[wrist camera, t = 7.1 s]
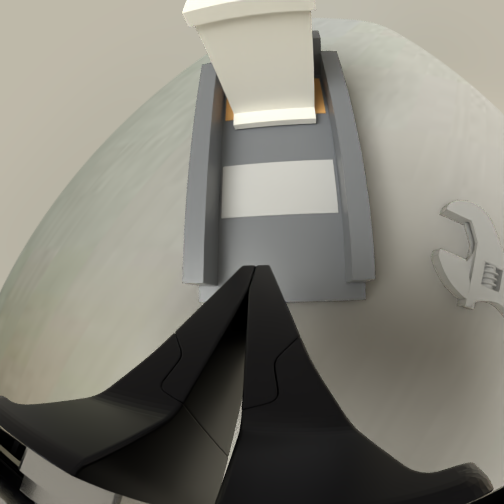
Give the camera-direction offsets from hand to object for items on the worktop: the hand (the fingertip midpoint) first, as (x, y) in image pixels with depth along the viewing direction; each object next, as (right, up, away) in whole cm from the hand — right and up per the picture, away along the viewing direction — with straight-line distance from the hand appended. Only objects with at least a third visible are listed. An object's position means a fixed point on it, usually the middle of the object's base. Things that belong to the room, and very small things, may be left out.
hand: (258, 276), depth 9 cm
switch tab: (+1, +12, +10) cm, 15 cm away
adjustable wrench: (+21, -6, +5) cm, 22 cm away
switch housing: (+2, +6, +10) cm, 12 cm away
